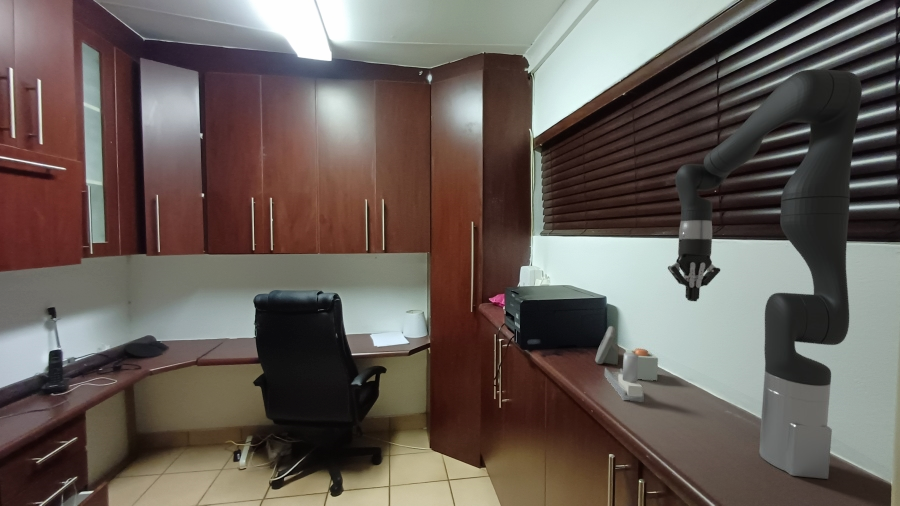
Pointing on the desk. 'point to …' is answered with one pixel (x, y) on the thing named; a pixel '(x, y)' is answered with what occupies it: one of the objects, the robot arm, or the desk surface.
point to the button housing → (646, 366)
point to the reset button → (641, 352)
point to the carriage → (630, 375)
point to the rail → (613, 379)
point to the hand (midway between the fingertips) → (691, 300)
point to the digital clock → (608, 348)
